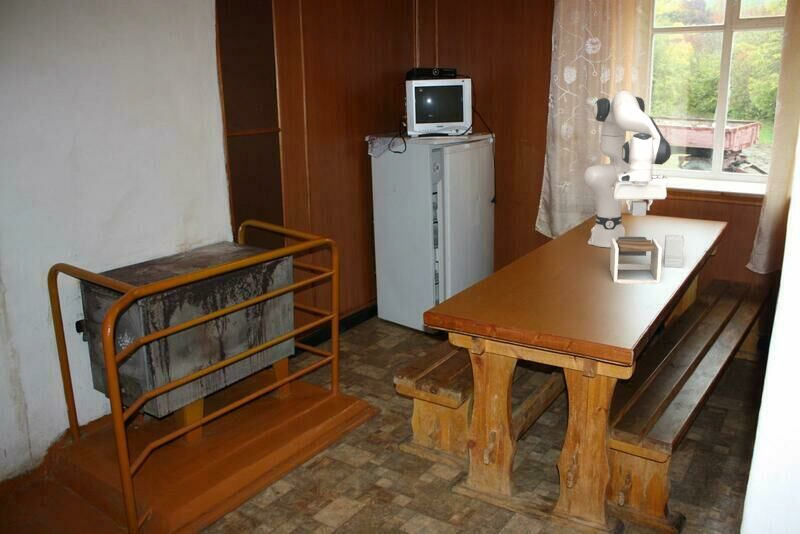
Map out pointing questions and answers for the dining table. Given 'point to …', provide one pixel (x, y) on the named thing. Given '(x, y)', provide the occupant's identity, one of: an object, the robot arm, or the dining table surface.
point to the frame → (653, 266)
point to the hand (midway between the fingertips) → (638, 210)
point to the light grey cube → (638, 208)
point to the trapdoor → (634, 246)
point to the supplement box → (673, 250)
